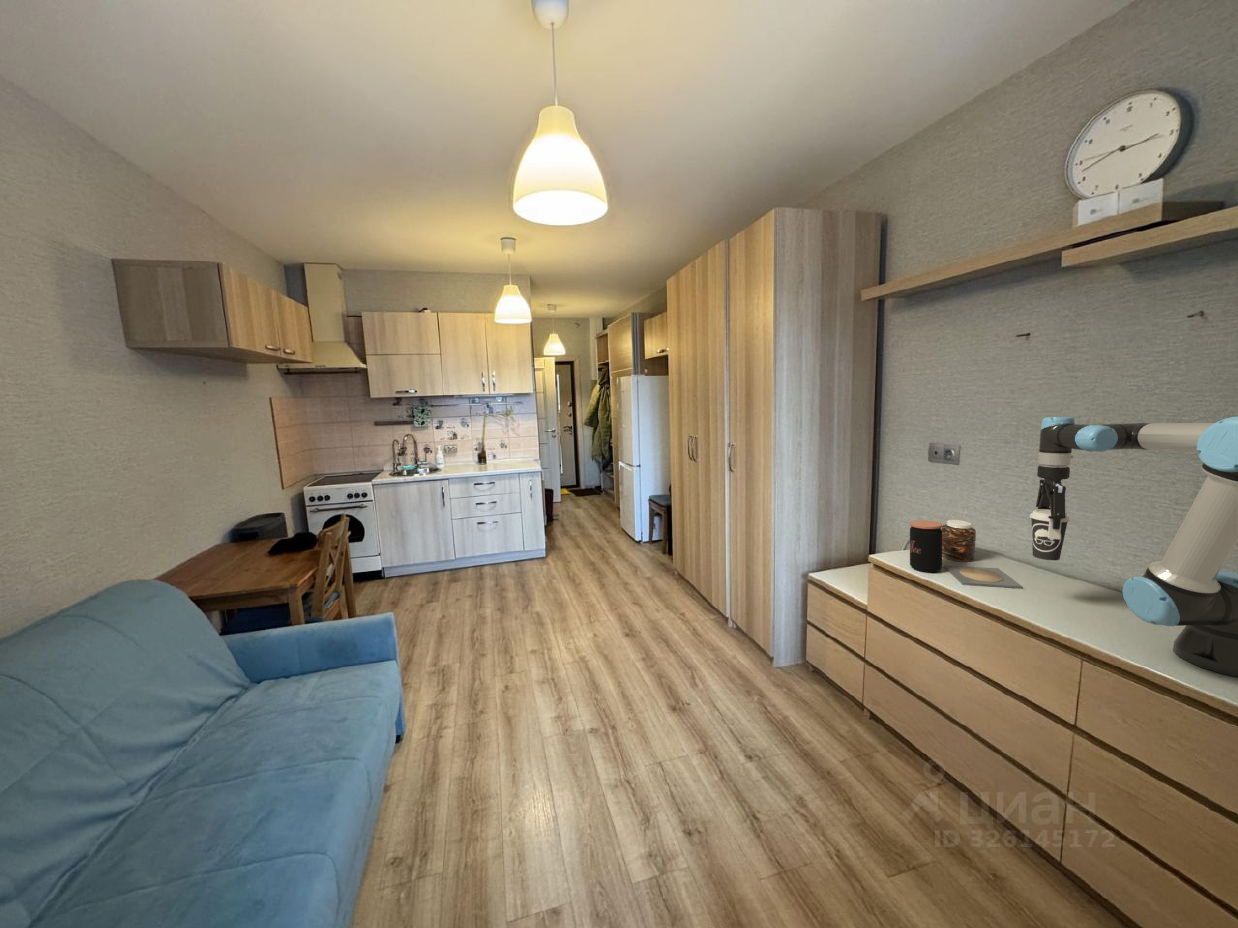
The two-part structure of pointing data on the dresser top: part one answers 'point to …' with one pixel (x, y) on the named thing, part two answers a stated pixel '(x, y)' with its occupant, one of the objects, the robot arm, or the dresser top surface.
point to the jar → (958, 541)
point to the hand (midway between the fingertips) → (1047, 534)
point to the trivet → (982, 576)
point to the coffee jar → (926, 546)
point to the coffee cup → (1046, 536)
